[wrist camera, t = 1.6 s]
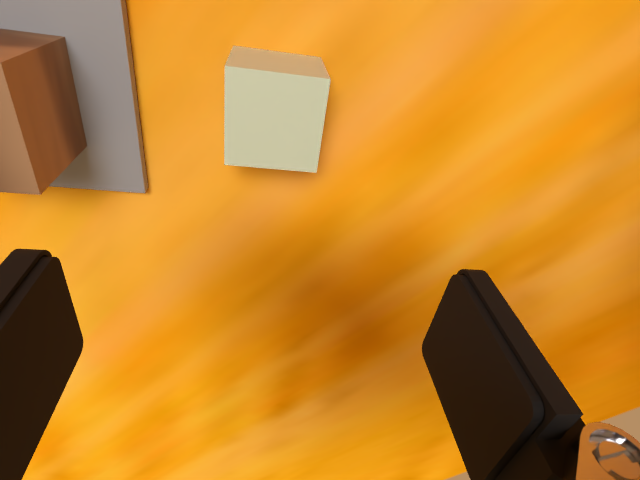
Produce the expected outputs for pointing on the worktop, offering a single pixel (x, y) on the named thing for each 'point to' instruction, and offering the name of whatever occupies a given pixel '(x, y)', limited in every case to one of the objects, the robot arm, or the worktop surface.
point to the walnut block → (36, 111)
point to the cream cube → (274, 109)
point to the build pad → (94, 87)
